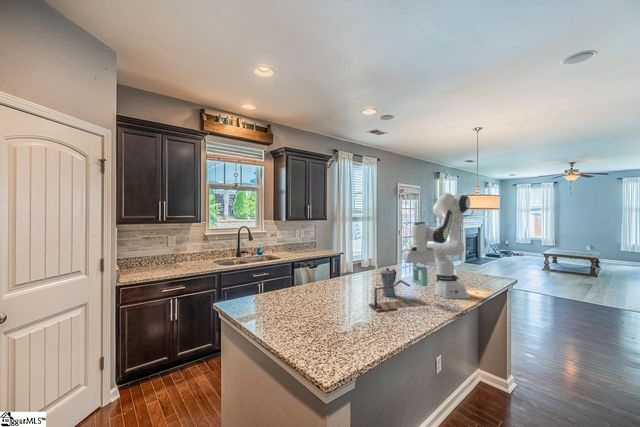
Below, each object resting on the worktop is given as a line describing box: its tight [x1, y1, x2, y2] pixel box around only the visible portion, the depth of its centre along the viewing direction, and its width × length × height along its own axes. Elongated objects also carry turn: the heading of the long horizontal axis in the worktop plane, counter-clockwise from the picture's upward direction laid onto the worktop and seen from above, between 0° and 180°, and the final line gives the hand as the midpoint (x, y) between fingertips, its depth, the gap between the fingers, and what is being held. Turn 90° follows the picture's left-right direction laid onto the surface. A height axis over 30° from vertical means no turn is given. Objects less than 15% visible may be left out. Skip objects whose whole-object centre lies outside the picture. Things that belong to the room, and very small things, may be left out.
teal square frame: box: [412, 264, 428, 287], centre depth 176 cm, size 3×11×11 cm, turn 14°
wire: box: [369, 279, 411, 309], centre depth 171 cm, size 26×5×15 cm, turn 104°
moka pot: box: [380, 267, 397, 298], centre depth 192 cm, size 10×15×20 cm, turn 132°
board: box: [368, 298, 431, 313], centre depth 172 cm, size 36×12×1 cm, turn 104°
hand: (419, 269), depth 176 cm, fingers closed on teal square frame, 3 cm apart
